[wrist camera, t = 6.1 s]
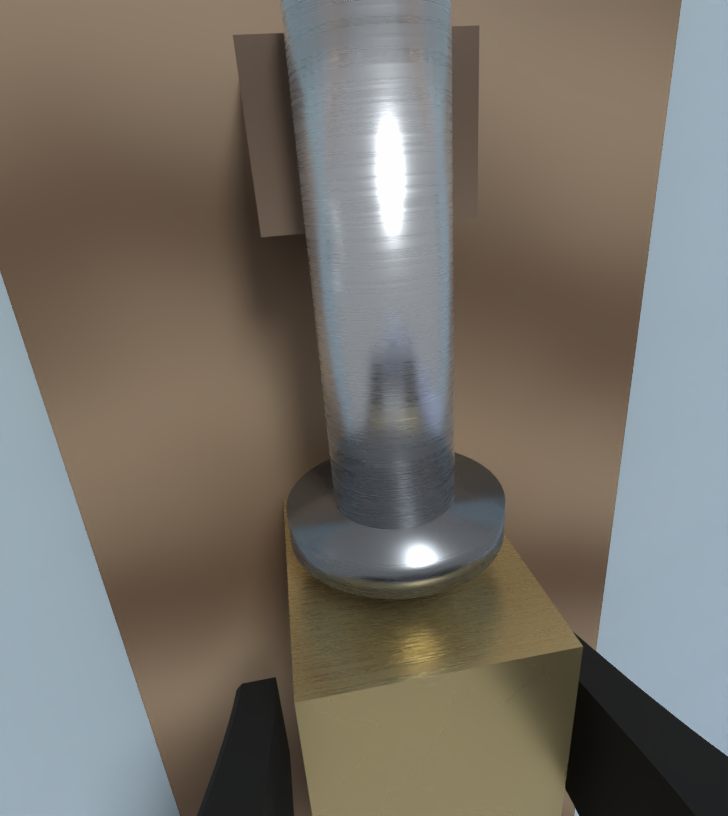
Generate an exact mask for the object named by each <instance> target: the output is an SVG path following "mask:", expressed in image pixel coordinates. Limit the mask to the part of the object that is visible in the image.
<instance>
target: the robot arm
mask: <svg viewBox="0 0 728 816" xmlns="http://www.w3.org/2000/svg"><path fill="white" fill-rule="evenodd" d="M573 633H574V632H573ZM574 634H575V633H574ZM575 636H576V637H577V638H578V640H579V641H580V643H581V644H582V646H583V652H582V659H581V667H580V675H579V683H578V690H577V698H576V706H575V713H574V721H573V729H572V737H571V744H570V752H569V760H568V767H567V775H566V783H565V789H566V791H567V793H568V795H569V797H570V799H571V801H572V803H573V805H574V806H575V808H576V810H577V812H578V814H579V816H728V756H726V755H725V754H724V753H722V752H721V751H720V750H718V749H717V748H716V747H714V746H713V745H712V744H710V743H709V742H707V741H706V740H705V739H703V738H702V737H701V736H700V735H698V734H697V733H696V732H694V731H693V730H692V729H690V728H689V727H688V726H687V725H685V724H684V723H683V722H681V721H680V720H679V719H678V718H676V717H675V716H674V715H673V714H671V713H670V712H669V711H668V710H666V709H665V708H664V707H663V706H661V705H660V704H659V703H658V702H656V701H655V700H654V699H653V698H651V697H650V696H649V695H648V694H646V693H645V692H644V691H643V690H641V689H640V688H639V687H638V686H637V685H635V684H634V683H633V682H632V681H631V680H629V679H628V678H627V677H626V676H625V675H623V674H622V673H621V672H620V671H619V670H618V669H616V668H615V667H614V666H613V665H612V664H610V663H609V662H608V661H607V660H606V659H605V658H603V657H602V656H601V655H600V654H599V653H598V652H596V651H595V650H594V649H593V648H592V647H591V646H589V645H588V644H587V643H586V642H585V641H584V640H582V639H581V638H580V637H579V636H578V635H577V634H575ZM197 816H294V806H293V789H292V774H291V759H290V750H289V744H288V739H287V734H286V728H285V723H284V718H283V712H282V707H281V702H280V697H279V691H278V686H277V681H276V677H273V678H268V679H263V680H258V681H253V682H247V683H242V684H241V685H240V686H239V687H238V689H237V690H236V695H235V699H234V704H233V708H232V711H231V715H230V719H229V723H228V726H227V729H226V733H225V736H224V739H223V743H222V746H221V749H220V752H219V755H218V758H217V761H216V764H215V767H214V770H213V773H212V776H211V778H210V781H209V784H208V787H207V789H206V792H205V795H204V798H203V800H202V803H201V806H200V809H199V811H198V814H197Z"/></svg>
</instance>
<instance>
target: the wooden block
mask: <svg viewBox="0 0 728 816" xmlns="http://www.w3.org/2000/svg"><path fill="white" fill-rule="evenodd" d="M287 500H288V498H284V499H283V501H284V520H285V538H286V557H287V575H288V594H289V613H290V631H291V650H292V669H293V687H294V704H295V710H296V716H297V723H298V729H299V735H300V741H301V748H302V754H303V760H304V766H305V773H306V779H307V785H308V791H309V798H310V804H311V810H312V816H561V814H562V806H563V798H564V791H565V783H566V775H567V767H568V760H569V752H570V744H571V737H572V729H573V721H574V713H575V706H576V698H577V690H578V683H579V675H580V667H581V659H582V652H583V646H582V644H581V643H580V641H579V640H578V638H577V637H576V636H575V634H574V633H573V631H572V630H571V628H570V627H569V626H568V624H567V623H566V621H565V620H564V618H563V617H562V616H561V614H560V613H559V611H558V610H557V608H556V607H555V606H554V604H553V603H552V601H551V600H550V598H549V597H548V596H547V594H546V593H545V591H544V590H543V588H542V587H541V586H540V584H539V583H538V581H537V580H536V579H535V577H534V576H533V574H532V573H531V571H530V570H529V569H528V567H527V566H526V564H525V563H524V561H523V560H522V559H521V557H520V556H519V554H518V553H517V551H516V550H515V549H514V547H513V546H512V544H511V543H510V541H509V540H508V539H507V537H506V536H505V534H504V540H503V543H502V546H501V549H500V551H499V553H498V555H497V556H496V558H495V559H494V560H493V562H492V563H491V564H490V565H489V566H488V567H487V568H486V569H485V570H484V571H482V572H481V573H480V574H479V575H477V576H476V577H474V578H473V579H471V580H469V581H468V582H466V583H464V584H462V585H459V586H457V587H455V588H453V589H450V590H447V591H444V592H441V593H437V594H433V595H428V596H424V597H416V598H409V599H379V598H370V597H363V596H358V595H354V594H350V593H346V592H343V591H340V590H338V589H335V588H333V587H330V586H328V585H327V584H325V583H323V582H321V581H319V580H318V579H316V578H315V577H314V576H312V575H311V574H309V573H308V572H307V571H306V570H305V569H304V568H303V567H302V565H301V564H300V563H299V561H298V560H297V558H296V556H295V554H294V551H293V549H292V544H291V538H290V531H289V525H288V518H287V512H286V506H287Z"/></svg>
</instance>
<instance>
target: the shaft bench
mask: <svg viewBox="0 0 728 816" xmlns="http://www.w3.org/2000/svg"><path fill="white" fill-rule="evenodd" d="M681 1H682V0H452V151H453V311H454V452H456V453H458V454H461V455H464V456H466V457H468V458H471V459H473V460H475V461H476V462H478V463H480V464H481V465H483V466H484V467H486V468H487V469H488V470H489V471H491V472H492V474H493V475H494V476H495V477H496V478H497V479H498V481H499V482H500V484H501V486H502V488H503V490H504V494H505V526H504V534H505V536H506V537H507V539H508V540H509V541H510V543H511V544H512V546H513V547H514V549H515V550H516V551H517V553H518V554H519V556H520V557H521V559H522V560H523V561H524V563H525V564H526V566H527V567H528V569H529V570H530V571H531V573H532V574H533V576H534V577H535V579H536V580H537V581H538V583H539V584H540V586H541V587H542V588H543V590H544V591H545V593H546V594H547V596H548V597H549V598H550V600H551V601H552V603H553V604H554V606H555V607H556V608H557V610H558V611H559V613H560V614H561V616H562V617H563V618H564V620H565V621H566V623H567V624H568V626H569V627H570V628H571V630H572V631H573V632H574V633H575V634H577V635H578V636H579V637H580V638H581V639H582V640H584V641H585V642H586V643H587V644H588V645H589V646H591V647H592V648H593V649H594V650H595V651H596V646H597V638H598V631H599V623H600V616H601V608H602V601H603V593H604V585H605V578H606V570H607V563H608V555H609V547H610V540H611V532H612V525H613V517H614V509H615V502H616V494H617V487H618V479H619V471H620V464H621V456H622V449H623V441H624V434H625V426H626V418H627V411H628V403H629V396H630V388H631V380H632V373H633V365H634V358H635V350H636V342H637V335H638V327H639V320H640V312H641V305H642V297H643V289H644V282H645V274H646V267H647V259H648V251H649V244H650V236H651V229H652V221H653V213H654V206H655V198H656V191H657V183H658V175H659V168H660V160H661V153H662V145H663V138H664V130H665V122H666V115H667V107H668V100H669V92H670V84H671V77H672V69H673V62H674V54H675V46H676V39H677V31H678V24H679V16H680V8H681ZM0 271H1V274H2V278H3V281H4V284H5V287H6V290H7V293H8V296H9V299H10V302H11V305H12V308H13V311H14V314H15V317H16V320H17V323H18V326H19V329H20V332H21V335H22V338H23V341H24V344H25V347H26V350H27V353H28V356H29V359H30V362H31V365H32V368H33V371H34V374H35V377H36V380H37V383H38V386H39V389H40V392H41V395H42V398H43V402H44V405H45V408H46V411H47V414H48V417H49V420H50V423H51V426H52V429H53V432H54V435H55V438H56V441H57V444H58V447H59V450H60V453H61V456H62V459H63V462H64V465H65V468H66V471H67V474H68V477H69V480H70V483H71V486H72V489H73V492H74V495H75V498H76V501H77V504H78V507H79V510H80V513H81V516H82V519H83V522H84V525H85V529H86V532H87V535H88V538H89V541H90V544H91V547H92V550H93V553H94V556H95V559H96V562H97V565H98V568H99V571H100V574H101V577H102V580H103V583H104V586H105V589H106V592H107V595H108V598H109V601H110V604H111V607H112V610H113V613H114V616H115V619H116V622H117V625H118V628H119V631H120V634H121V637H122V640H123V643H124V646H125V649H126V653H127V656H128V659H129V662H130V665H131V668H132V671H133V674H134V677H135V680H136V683H137V686H138V689H139V692H140V695H141V698H142V701H143V704H144V707H145V710H146V713H147V716H148V719H149V722H150V725H151V728H152V731H153V734H154V737H155V740H156V743H157V746H158V749H159V752H160V755H161V758H162V761H163V764H164V767H165V770H166V773H167V777H168V780H169V783H170V786H171V789H172V792H173V795H174V798H175V801H176V804H177V807H178V810H179V813H180V816H197V814H198V811H199V809H200V806H201V803H202V800H203V798H204V795H205V792H206V789H207V787H208V784H209V781H210V778H211V776H212V773H213V770H214V767H215V764H216V761H217V758H218V755H219V752H220V749H221V746H222V743H223V739H224V736H225V733H226V729H227V726H228V723H229V719H230V715H231V711H232V708H233V704H234V699H235V695H236V690H237V689H238V687H239V686H240V685H241V684H242V683H247V682H253V681H258V680H263V679H268V678H273V677H276V681H277V686H278V691H279V697H280V702H281V707H282V712H283V718H284V723H285V728H286V734H287V739H288V744H289V750H290V759H291V774H292V789H293V806H294V816H312V810H311V804H310V798H309V791H308V785H307V779H306V773H305V766H304V760H303V754H302V748H301V741H300V735H299V729H298V723H297V716H296V710H295V704H294V687H293V669H292V650H291V631H290V613H289V594H288V575H287V557H286V538H285V520H284V501H283V499H284V498H288V496H289V494H290V492H291V490H292V488H293V487H294V485H295V484H296V483H297V481H298V480H299V479H300V478H301V477H302V476H303V475H304V474H306V473H307V472H308V471H310V470H311V469H312V468H314V467H316V466H317V465H319V464H320V463H322V462H324V461H326V460H329V459H330V453H329V444H328V435H327V425H326V416H325V407H324V398H323V389H322V380H321V370H320V361H319V352H318V343H317V334H316V325H315V315H314V306H313V297H312V288H311V279H310V270H309V260H308V251H307V242H306V233H305V224H304V215H303V206H302V196H301V187H300V178H299V169H298V160H297V151H296V141H295V132H294V123H293V114H292V105H291V96H290V86H289V77H288V68H287V59H286V50H285V41H284V31H283V22H282V13H281V4H280V0H0ZM574 813H575V806H574V805H573V803H572V801H571V799H570V797H569V795H568V793H567V791H566V789H565V791H564V798H563V806H562V814H561V816H574Z"/></svg>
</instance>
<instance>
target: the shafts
mask: <svg viewBox="0 0 728 816" xmlns="http://www.w3.org/2000/svg"><path fill="white" fill-rule="evenodd" d="M280 4H281V13H282V22H283V31H284V41H285V50H286V59H287V68H288V77H289V86H290V96H291V105H292V114H293V123H294V132H295V141H296V151H297V160H298V169H299V178H300V187H301V196H302V206H303V215H304V224H305V233H306V242H307V251H308V260H309V270H310V279H311V288H312V297H313V306H314V315H315V325H316V334H317V343H318V352H319V361H320V370H321V380H322V389H323V398H324V407H325V416H326V425H327V435H328V444H329V453H330V459H329V460H326V461H324V462H322V463H320V464H319V465H317V466H316V467H314V468H312V469H311V470H310V471H308V472H307V473H306V474H304V475H303V476H302V477H301V478H300V479H299V480H298V481H297V483H296V484H295V485H294V487H293V488H292V490H291V492H290V494H289V496H288V500H287V506H286V512H287V518H288V525H289V531H290V538H291V544H292V549H293V551H294V554H295V556H296V558H297V560H298V561H299V563H300V564H301V565H302V567H303V568H304V569H305V570H306V571H307V572H308V573H309V574H311V575H312V576H314V577H315V578H316V579H318V580H319V581H321V582H323V583H325V584H327V585H328V586H330V587H333V588H335V589H338V590H340V591H343V592H346V593H350V594H354V595H358V596H363V597H370V598H379V599H409V598H416V597H424V596H428V595H433V594H437V593H441V592H444V591H447V590H450V589H453V588H455V587H457V586H459V585H462V584H464V583H466V582H468V581H469V580H471V579H473V578H474V577H476V576H477V575H479V574H480V573H481V572H482V571H484V570H485V569H486V568H487V567H488V566H489V565H490V564H491V563H492V562H493V560H494V559H495V558H496V556H497V555H498V553H499V551H500V549H501V546H502V543H503V540H504V526H505V494H504V490H503V488H502V486H501V484H500V482H499V481H498V479H497V478H496V477H495V476H494V475H493V474H492V472H491V471H489V470H488V469H487V468H486V467H484V466H483V465H481V464H480V463H478V462H476V461H475V460H473V459H471V458H468V457H466V456H464V455H461V454H458V453H456V452H454V311H453V151H452V0H280Z"/></svg>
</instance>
